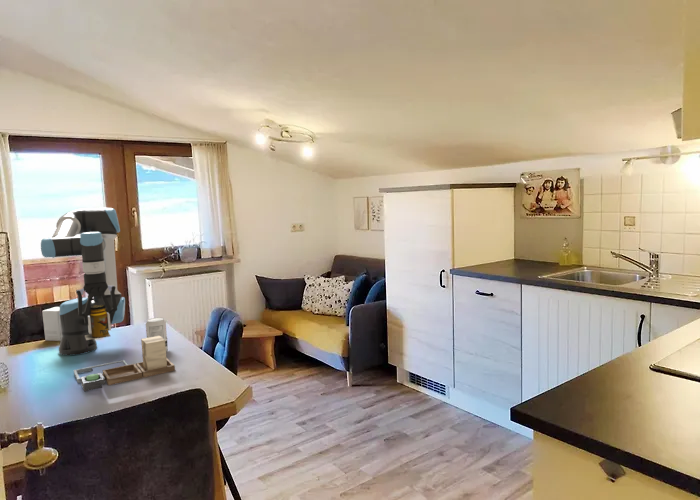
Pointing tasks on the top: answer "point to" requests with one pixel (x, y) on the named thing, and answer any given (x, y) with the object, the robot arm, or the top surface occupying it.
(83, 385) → the button housing
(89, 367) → the frame
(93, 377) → the button
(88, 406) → the top surface
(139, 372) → the brown divided tray
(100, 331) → the condiment
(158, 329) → the supplement can
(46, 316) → the supplement box
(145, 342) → the block
